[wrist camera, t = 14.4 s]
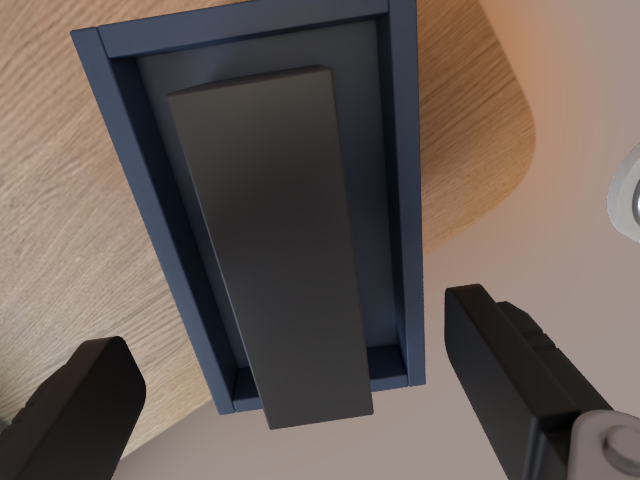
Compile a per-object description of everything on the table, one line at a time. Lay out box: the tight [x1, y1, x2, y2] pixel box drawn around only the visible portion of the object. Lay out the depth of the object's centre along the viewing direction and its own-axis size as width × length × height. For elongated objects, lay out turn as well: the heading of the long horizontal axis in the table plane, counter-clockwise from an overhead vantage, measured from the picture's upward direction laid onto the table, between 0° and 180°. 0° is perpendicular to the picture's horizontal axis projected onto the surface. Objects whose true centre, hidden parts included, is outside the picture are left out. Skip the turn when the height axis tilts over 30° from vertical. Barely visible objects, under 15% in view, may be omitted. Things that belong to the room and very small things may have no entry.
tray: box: [70, 0, 426, 415], centre depth 15 cm, size 10×16×2 cm, turn 8°
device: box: [166, 64, 374, 430], centre depth 13 cm, size 12×4×4 cm, turn 8°
